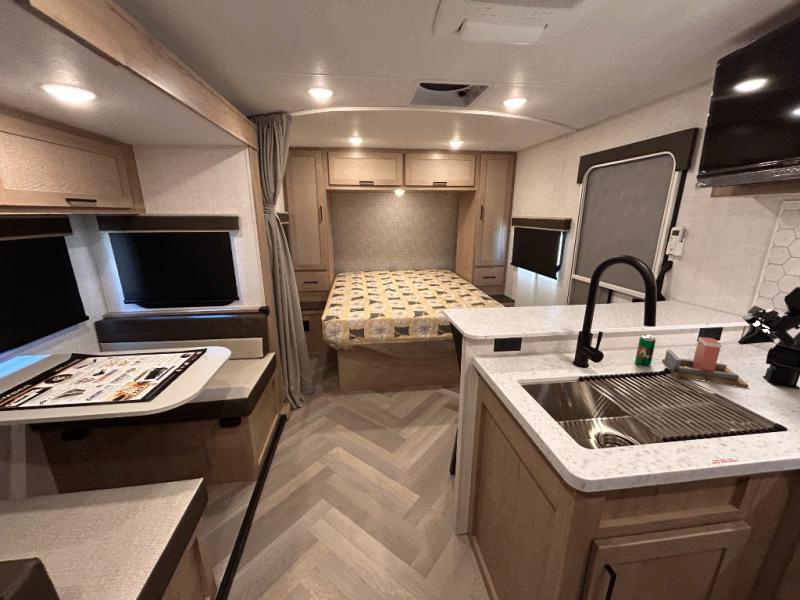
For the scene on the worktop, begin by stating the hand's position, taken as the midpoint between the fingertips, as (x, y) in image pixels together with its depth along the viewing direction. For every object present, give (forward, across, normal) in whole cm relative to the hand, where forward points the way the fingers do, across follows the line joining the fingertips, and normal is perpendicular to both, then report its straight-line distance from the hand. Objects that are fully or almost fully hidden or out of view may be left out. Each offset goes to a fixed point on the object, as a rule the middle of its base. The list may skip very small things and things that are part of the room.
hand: (739, 343), depth 111 cm
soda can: (+28, -1, -9) cm, 29 cm away
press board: (+15, 0, +4) cm, 16 cm away
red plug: (+14, 0, +3) cm, 14 cm away
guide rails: (+15, 0, +2) cm, 15 cm away
